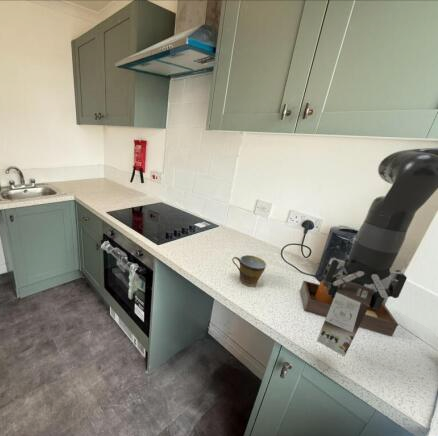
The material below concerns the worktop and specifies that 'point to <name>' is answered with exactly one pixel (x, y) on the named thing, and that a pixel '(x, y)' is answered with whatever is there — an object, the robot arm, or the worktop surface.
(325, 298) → the spice bottle
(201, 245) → the worktop surface
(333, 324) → the coffee box
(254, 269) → the ceramic cup
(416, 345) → the worktop surface
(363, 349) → the worktop surface
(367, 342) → the worktop surface
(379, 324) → the holder
